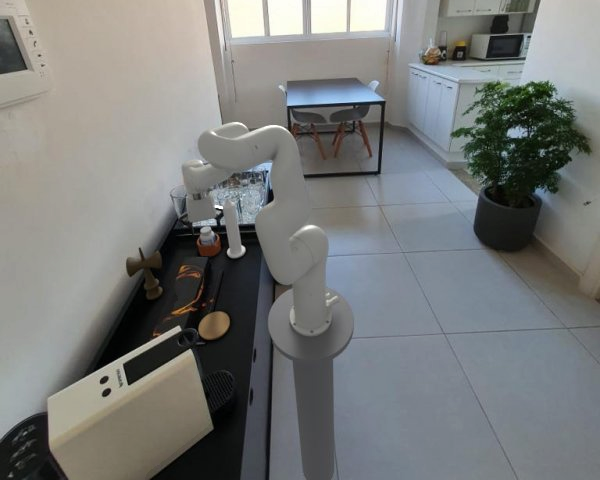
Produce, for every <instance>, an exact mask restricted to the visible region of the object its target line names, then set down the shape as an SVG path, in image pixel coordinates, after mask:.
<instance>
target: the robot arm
mask: <svg viewBox="0 0 600 480" xmlns="http://www.w3.org/2000/svg"><path fill="white" fill-rule="evenodd" d="M197 150H198V152H199V155H200V156H201V157H202V159H204V161H206V162H208V163H207V164H205V165H204V162H203V161H202V160H200V159H189V160H186V161H184V162H183V163H182V164H181V167H180V169H181V174H182V177H183V182H184V186H185V191H186V197H185V206H186V211H185V212H184V213H182V214H180V215H178V217H177V220H178V221H179V222H180V223H181V225H183V226H185V227H186V228H187V229H188V233H189V234H191V236H192V237H194V236H195V229H194V225H193V224H194V223H198V222H204V221H209V220H215V223H216V229H217V231H220V230H221V228H222V223H221V220H222V219H223V218H224V214H223V208H222V206H220V205H216V203H215V199H214V195H213V194H212V192H213V187H214V186H216V185H218V184H220V183H222V182H225V181H227V180H228V179H230V178H231V177H232V176H233V174H234V173H237V174H238V173H240V174H241V173H245V172H248V171H251V170H253V169H254V168H256V167H258V166H261V165H263V164H264V163H266V162H268V161H272V164H271V166H270V172H269V184H270V186H271V189H272V193H273V200H272V201H271V202H269V203H268V204H265V205H264V206H263V207H261V208H260V209H259V210H258V211H257V213H256V215H255V218H254V229H255V233H256V236H257V239H258V242H259V245H260V248H261V251H262V254H263V256H264V257H263V258H264V259H265V263H266V265H267V268H268V271H269V272H270V274H271V276H272V277H273V279H274V280H275V281H276V282H277V283H278V284H281V285H283V286H291V288H292V291H293V303H294V306H293V307H292V308H291V311H290V315H289V318H290V324H291V326H292V328H293V329H294V330H295V331H296V332H297V333H299V334H301V335H303V336H310V337H312V336H317V335H320V334H322V333H324V332H325V331H326V330H327V329H328V328H329V326H330V324H331V321H332V313H331V310H330V308H332V306H333V305H335V304H337V303H338V302H339V298H338V297H337V296H335V297H333V298H332V299H331V300H327V299H329V298H331V296H330V294H329V293H328V294H326V287H327V273H326V271H327V270H326V269H327V260H328V256H329V249H330V248H329V247H330V246H329V245H330V244H329V239H328V236H327V233H325V231H324V230H323V229H322V228H321V227H320V226H317V225H315V224H308V223H309V222H310V221H311V220H312V219H313V216H314V209H313V208H314V207H313V203H312V200H311V196H310V193H309V189H308V186H307V182H306V179H305V177H304V173H303V168H302V162H301V161H302V160H301V156H300V150H299V147H298V143H297V141H296V138H295V137H294V136H293V134H292V133H291V132H290V131H289V130H288V129H287V128H285V127H284V126H281V125H278V124H277V125H276V124H273V125H266V126H262V127H260V128H256V129H254V130H251V131H250V130H249V128H248V127H247V126H246V125H245V124H244V123H242V122H238V121H232V122H227V123H224V124H221V125H218V126H215V127H212V128H209V129H206V130H204V131H203V132H202V133H200V135H199V136H198V138H197ZM217 211H218V212H219V213H217ZM185 218H187V219H188V220H186V219H185Z"/></svg>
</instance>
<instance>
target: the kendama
mask: <svg viewBox="0 0 600 480" xmlns="http://www.w3.org/2000/svg"><path fill="white" fill-rule="evenodd" d="M138 253H139V257H140V258H135V257H131V256H128V257H127V258H126V260H125V269H126V274H127V276H128V277H129V278H132V277H134V276H135V275H136V274H137V273H138V272H139V271H141V270H143V271H144V279H145V283H144V285H143V289H144V290H146V294H145V298H146V300H150V301H152V300H156V299H158V298H159V297H161V296H162V294H163V288H162V287H161V286H159V284H160V280H159V279H158V278H155V277H154V275H153V273H152V271H151V269H152V268H153V269H157V270H161V268H162V266H163V260H162V255H161V252H160V251H159V250H156V251H155V252H154V253H152V254H150V256H148V257H145V255H144V252H143V250H142V247H140V246H139V247H138ZM150 268H151V269H150Z"/></svg>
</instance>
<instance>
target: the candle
mask: <svg viewBox="0 0 600 480" xmlns="http://www.w3.org/2000/svg"><path fill="white" fill-rule="evenodd" d="M221 207H222V208H223V214H224V216H223V219H224V224H225V230H226V235H227V240H228V246H229V248H228V249H227V251H226V255H227V256H228V257H229V258H231V259H239V258H241V257H242V256H244V255H245V253H246V247H245V246H244V245H242V240H241V233H240V228H239V222H238V215H237V209H236V204H235V202H233V201H230V198H229V196H226V199H225V202H224V203H223V204H222V205H221Z"/></svg>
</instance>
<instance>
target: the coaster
mask: <svg viewBox="0 0 600 480" xmlns="http://www.w3.org/2000/svg"><path fill="white" fill-rule="evenodd" d="M230 325H231V321H230V317H229V315H228V314H227V313H226V312H224V311H213V312H210V313H208V314H207V315H205V316H204V317H203V318H202V319H201V321H200V322H199V324H198V334H199V336H200V337H201V338H202V339H204V340H207V341H213V340H217V339H219V338H221V337H222V336H224V335H225V334H226V333H227V331H228V330H229V329H230Z"/></svg>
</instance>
